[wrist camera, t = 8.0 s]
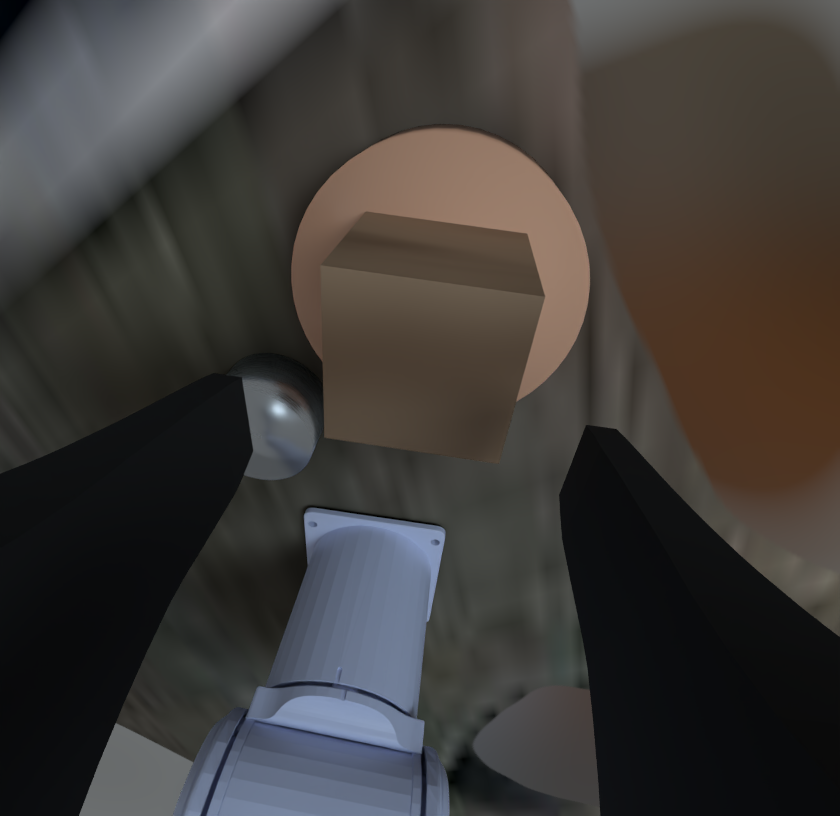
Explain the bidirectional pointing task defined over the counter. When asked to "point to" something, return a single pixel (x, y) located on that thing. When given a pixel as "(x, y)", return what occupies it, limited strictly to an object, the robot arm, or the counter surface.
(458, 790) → the counter surface
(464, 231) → the walnut cube
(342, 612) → the robot arm
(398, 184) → the tan round disc
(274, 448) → the grey tin
